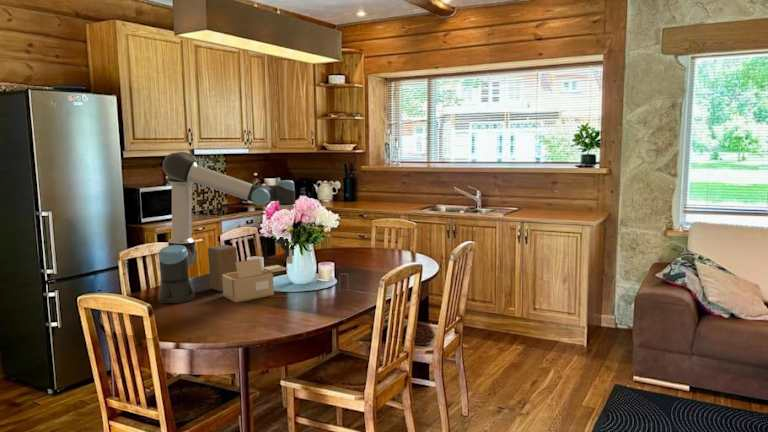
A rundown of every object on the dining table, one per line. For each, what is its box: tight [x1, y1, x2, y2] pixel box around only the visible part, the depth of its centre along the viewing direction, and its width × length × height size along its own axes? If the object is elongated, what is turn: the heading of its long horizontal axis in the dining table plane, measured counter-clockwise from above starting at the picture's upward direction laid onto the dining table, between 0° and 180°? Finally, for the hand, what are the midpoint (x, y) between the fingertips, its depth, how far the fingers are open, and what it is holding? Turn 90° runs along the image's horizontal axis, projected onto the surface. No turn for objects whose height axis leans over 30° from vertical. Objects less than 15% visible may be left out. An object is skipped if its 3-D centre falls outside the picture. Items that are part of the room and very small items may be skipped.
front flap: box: [235, 259, 263, 278], centre depth 254 cm, size 11×7×1 cm
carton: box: [222, 269, 275, 303], centre depth 261 cm, size 19×15×10 cm
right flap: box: [262, 264, 289, 273], centre depth 268 cm, size 8×10×1 cm
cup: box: [246, 255, 265, 270], centre depth 293 cm, size 8×12×10 cm
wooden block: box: [207, 244, 238, 292], centre depth 274 cm, size 10×10×20 cm
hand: (289, 263), depth 274 cm, fingers closed
